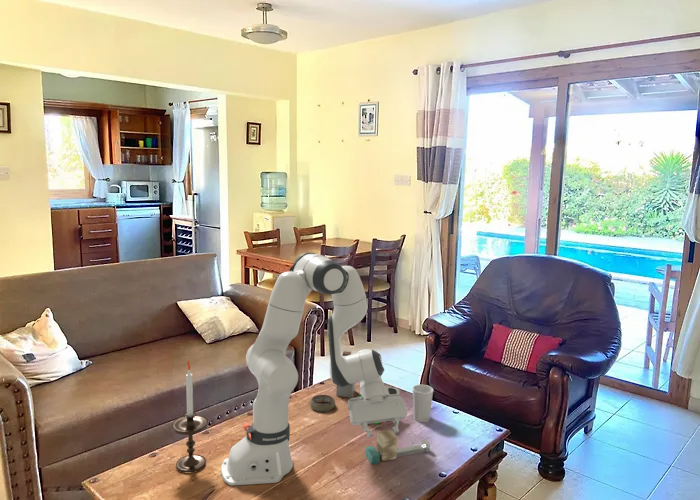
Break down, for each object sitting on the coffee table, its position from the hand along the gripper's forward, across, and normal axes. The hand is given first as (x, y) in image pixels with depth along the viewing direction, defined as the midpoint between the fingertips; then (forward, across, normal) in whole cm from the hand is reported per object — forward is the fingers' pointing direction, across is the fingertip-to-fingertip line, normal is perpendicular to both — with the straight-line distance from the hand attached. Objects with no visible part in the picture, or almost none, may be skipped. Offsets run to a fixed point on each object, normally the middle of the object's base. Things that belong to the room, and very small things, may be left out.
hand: (383, 434), depth 175 cm
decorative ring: (-22, -10, +32) cm, 40 cm away
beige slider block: (+6, 0, +3) cm, 7 cm away
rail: (+6, +5, +3) cm, 9 cm away
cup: (-9, +24, +18) cm, 31 cm away
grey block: (-29, +3, +38) cm, 48 cm away
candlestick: (-2, -62, +13) cm, 63 cm away
